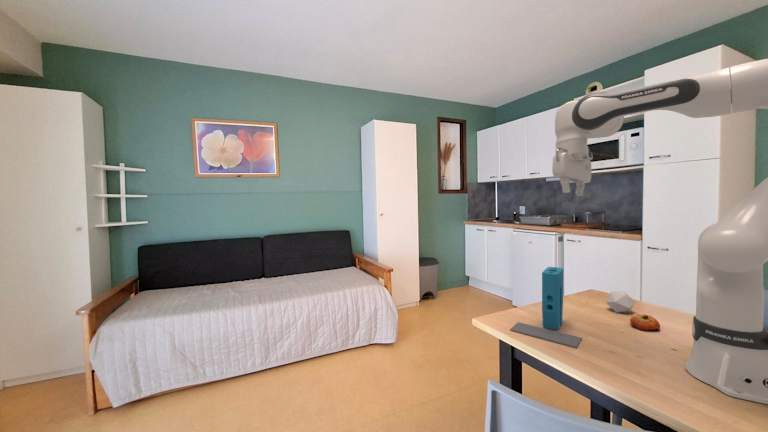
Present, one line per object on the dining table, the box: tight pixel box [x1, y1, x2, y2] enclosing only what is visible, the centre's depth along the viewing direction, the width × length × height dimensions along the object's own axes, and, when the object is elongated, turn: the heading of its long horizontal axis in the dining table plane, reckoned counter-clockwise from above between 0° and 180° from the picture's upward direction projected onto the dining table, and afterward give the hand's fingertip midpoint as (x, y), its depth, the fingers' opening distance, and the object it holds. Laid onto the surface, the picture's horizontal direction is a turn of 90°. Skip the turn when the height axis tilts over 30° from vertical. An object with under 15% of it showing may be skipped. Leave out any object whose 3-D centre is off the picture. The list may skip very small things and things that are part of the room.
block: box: [541, 266, 564, 331], centre depth 110 cm, size 12×5×20 cm, turn 141°
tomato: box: [629, 313, 661, 331], centre depth 106 cm, size 8×7×7 cm
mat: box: [509, 321, 583, 349], centre depth 102 cm, size 20×8×1 cm, turn 48°
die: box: [605, 290, 636, 314], centre depth 121 cm, size 8×9×10 cm
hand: (573, 194), depth 98 cm, fingers open, 8 cm apart
